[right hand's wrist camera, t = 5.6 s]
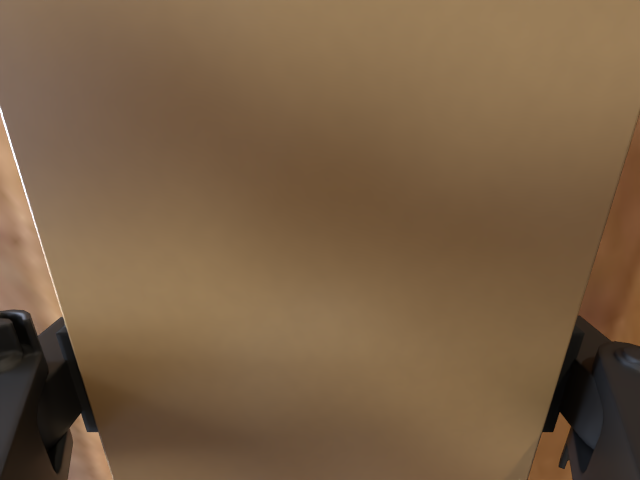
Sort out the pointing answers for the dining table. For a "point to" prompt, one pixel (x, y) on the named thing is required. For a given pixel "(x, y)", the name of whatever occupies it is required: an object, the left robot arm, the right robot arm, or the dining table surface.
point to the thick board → (320, 221)
